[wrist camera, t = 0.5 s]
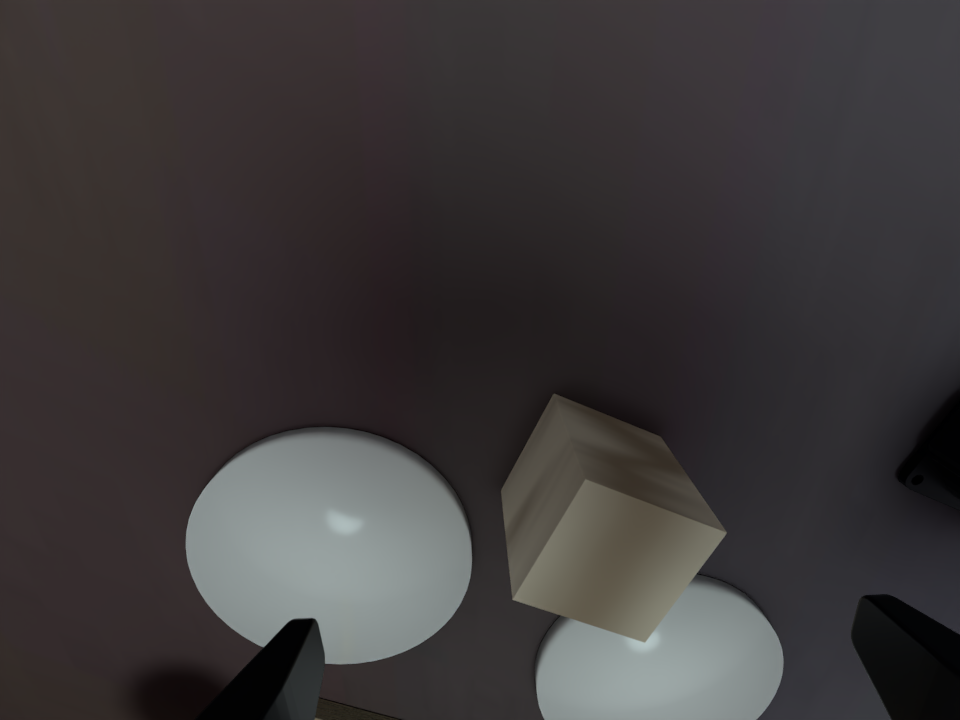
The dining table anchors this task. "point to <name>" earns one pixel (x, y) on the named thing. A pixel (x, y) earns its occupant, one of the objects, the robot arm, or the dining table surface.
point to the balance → (344, 712)
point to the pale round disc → (331, 542)
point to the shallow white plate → (665, 663)
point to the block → (603, 522)
